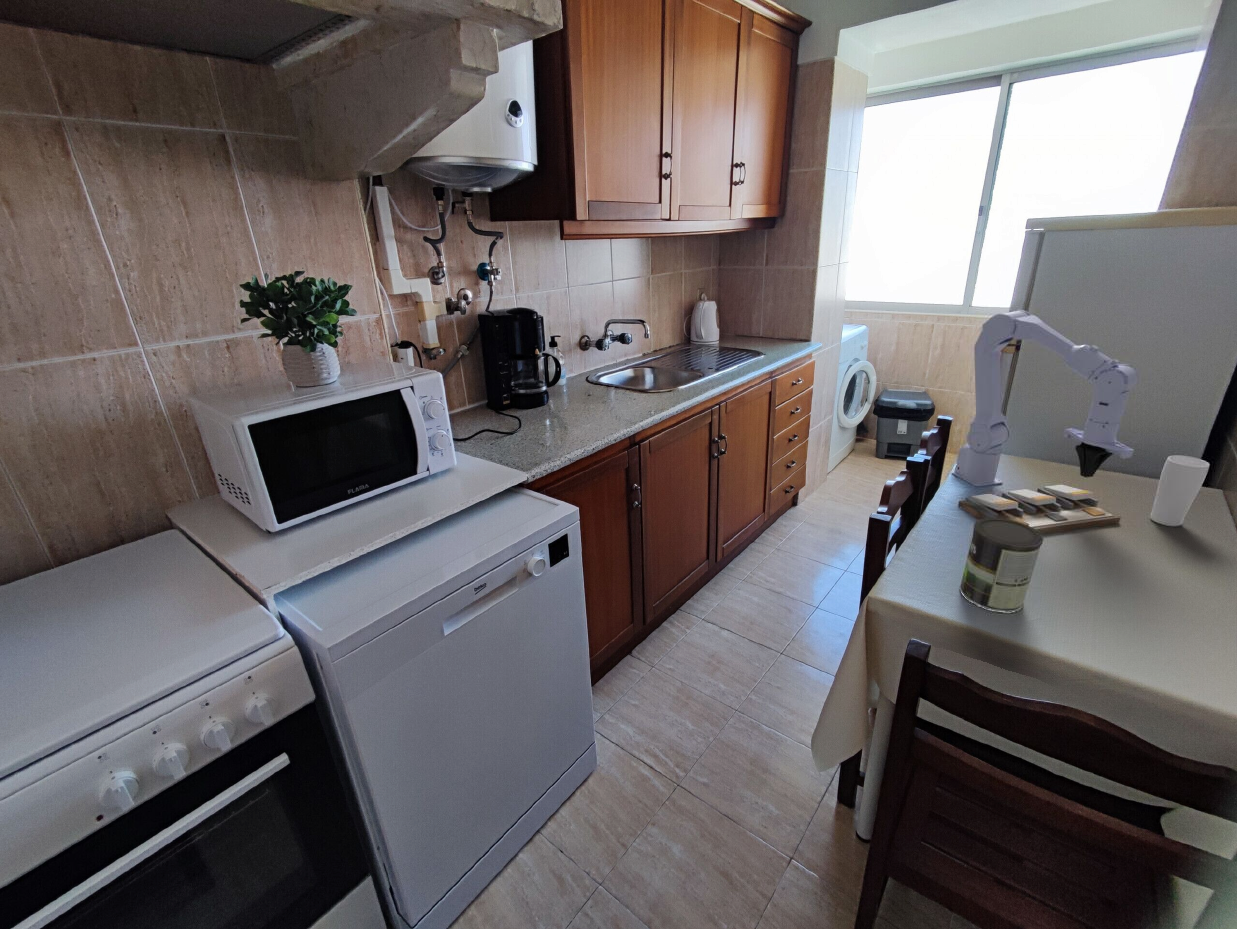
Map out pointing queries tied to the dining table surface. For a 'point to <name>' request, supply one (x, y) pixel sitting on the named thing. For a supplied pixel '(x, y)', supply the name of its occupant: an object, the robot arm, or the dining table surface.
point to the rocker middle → (1032, 497)
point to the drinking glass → (1178, 489)
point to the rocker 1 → (995, 502)
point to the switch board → (1047, 513)
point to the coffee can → (1000, 563)
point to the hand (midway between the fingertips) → (1086, 475)
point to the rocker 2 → (1069, 492)
